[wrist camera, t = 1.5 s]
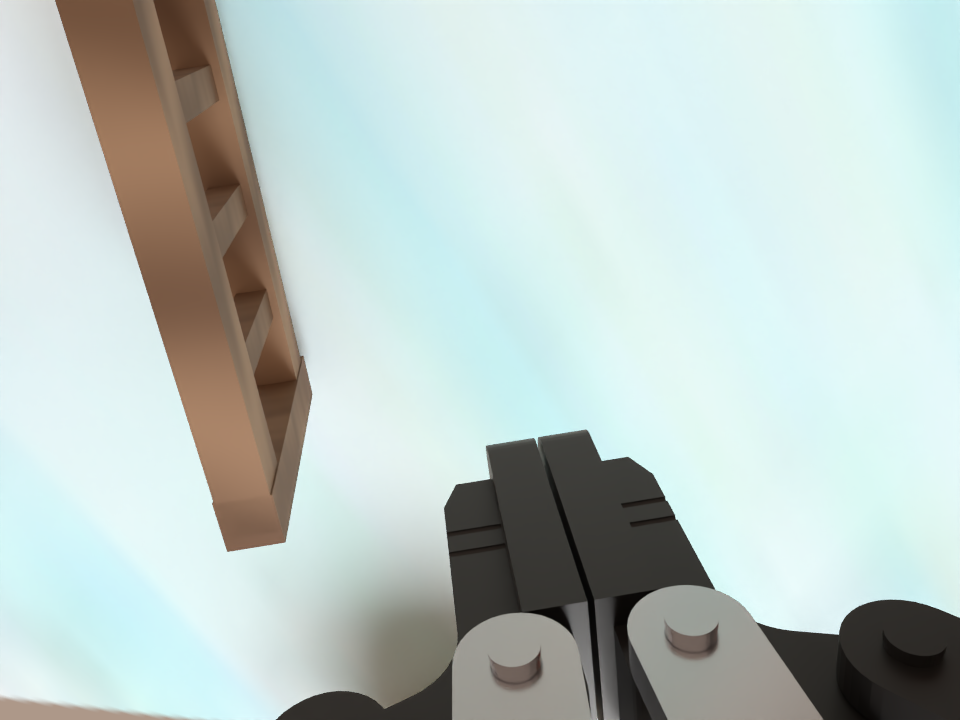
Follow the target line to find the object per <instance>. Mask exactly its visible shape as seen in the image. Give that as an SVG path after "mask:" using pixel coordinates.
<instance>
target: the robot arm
mask: <svg viewBox="0 0 960 720" xmlns="http://www.w3.org/2000/svg"><path fill="white" fill-rule="evenodd" d="M486 452H487V460H488V468H489V475H490V479H489V480H483V481H476V482H470V483H464V484H458V485H456V486H455V488H454V490H453V492H452V494H451V496H450V498H449V499H448V501H447V503H446V505H445V507H444V512H445V521H446V530H447V539H448V549H449V556H450V567H451V576H452V586H453V595H454V604H455V613H456V622H457V632H458V643H457V648H456V650H455V653H454V656H453V659H452V661H451V663H450V664H449V666H448V668H447V669H446V670H445V671H444V672H443V674H442V675H441V676H440V677H439V678H438V679H437V680H436V681H435V682H434V683H432V684H431V685H430V686H428V687H427V688H426V689H424V690H423V691H421V692H419V693H417V694H416V695H414V696H412V697H410V698H408V699H406V700H403V701H401V702H399V703H397V704H395V705H393V706H391V707H388V708H386V709H383V707H382V706H381V705H379V704H378V703H377V702H376V701H375V700H373V699H371V698H369V697H368V696H365V695H362V694H359V693H355V692H349V691H335V692H327V693H323V694H319V695H315V696H313V697H310V698H308V699H305V700H303V701H301V702H299V703H298V704H296V705H294V706H292V707H291V708H290V709H288V710H287V711H285V712H284V713H283V714H282V715H281V716H279V717H278V718H277V719H276V720H597V718H598V720H960V618H958V617H956V616H954V615H951V614H949V613H946V612H944V611H942V610H939V609H936V608H934V607H931V606H928V605H924V604H920V603H916V602H911V601H904V600H880V601H874V602H870V603H866V604H864V605H861V606H859V607H857V608H856V609H854V610H852V611H851V612H850V613H849V614H848V615H847V616H846V617H845V619H844V620H843V622H842V624H841V627H840V631H839V635H835V634H823V633H811V632H799V631H789V630H782V629H777V628H773V627H769V626H765V625H763V624H760V623H757V622H755V620H754V619H753V617H752V616H751V614H750V613H749V612H748V611H747V610H746V608H745V607H744V606H742V605H741V604H740V603H739V602H738V601H736V600H735V599H733V598H732V597H730V596H728V595H726V594H724V593H722V592H720V591H717V590H715V588H714V586H713V584H712V583H711V581H710V579H709V577H708V575H707V573H706V572H705V570H704V568H703V566H702V564H701V562H700V560H699V559H698V557H697V555H696V553H695V551H694V549H693V548H692V546H691V544H690V542H689V540H688V538H687V536H686V535H685V533H684V531H683V529H682V527H681V525H680V524H679V522H678V520H676V519H675V514H674V512H673V511H672V509H671V507H670V505H669V503H668V501H666V500H665V496H664V494H663V492H662V490H661V488H660V487H659V485H658V483H657V481H656V479H655V477H654V475H653V474H652V473H651V472H649V471H648V470H646V469H645V468H643V467H642V466H641V465H639V464H638V463H636V462H635V461H633V460H632V459H631V458H629V457H624V458H618V459H612V460H606V461H601V458H600V456H599V454H598V452H597V450H596V447H595V445H594V443H593V441H592V438H591V436H590V434H589V432H588V431H587V430H581V431H574V432H568V433H562V434H556V435H549V436H543V437H538V447H537V444H536V441H535V439H534V438H532V439H525V440H519V441H513V442H506V443H500V444H494V445H488V446H486Z"/></svg>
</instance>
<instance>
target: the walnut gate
mask: <svg viewBox="0 0 960 720" xmlns="http://www.w3.org/2000/svg"><path fill="white" fill-rule="evenodd" d="M55 2H56V5H57V8H58V11H59V14H60V17H61V21H62V24H63V27H64V30H65V33H66V36H67V40H68V43H69V46H70V49H71V52H72V55H73V59H74V62H75V65H76V68H77V71H78V74H79V78H80V81H81V84H82V87H83V90H84V93H85V97H86V100H87V103H88V106H89V109H90V112H91V116H92V119H93V122H94V125H95V128H96V131H97V135H98V138H99V141H100V144H101V147H102V150H103V154H104V157H105V160H106V163H107V166H108V169H109V173H110V176H111V179H112V182H113V185H114V188H115V192H116V195H117V198H118V201H119V204H120V207H121V211H122V214H123V217H124V220H125V223H126V226H127V229H128V233H129V236H130V239H131V242H132V245H133V248H134V252H135V255H136V258H137V261H138V264H139V267H140V271H141V274H142V277H143V280H144V283H145V286H146V290H147V293H148V296H149V299H150V302H151V305H152V309H153V312H154V315H155V318H156V321H157V324H158V328H159V331H160V334H161V337H162V340H163V343H164V347H165V350H166V353H167V356H168V359H169V362H170V366H171V369H172V372H173V375H174V378H175V381H176V385H177V388H178V391H179V394H180V397H181V400H182V404H183V407H184V410H185V413H186V416H187V419H188V423H189V426H190V429H191V432H192V435H193V438H194V442H195V445H196V448H197V451H198V454H199V457H200V461H201V464H202V467H203V470H204V473H205V476H206V480H207V483H208V486H209V489H210V492H211V495H212V499H213V503H212V505H213V508H214V511H215V514H216V517H217V521H218V524H219V527H220V530H221V533H222V536H223V539H224V543H225V546H226V549H227V552H229V551H235V550H241V549H247V548H254V547H260V546H266V545H272V544H278V543H285V541H286V536H287V530H288V525H289V519H290V514H291V508H292V503H293V498H294V492H295V487H296V481H297V476H298V470H299V465H300V459H301V454H302V448H303V443H304V437H305V432H306V426H307V421H308V415H309V410H310V405H311V399H312V390H311V386H310V382H309V378H308V374H307V369H306V365H305V361H304V357H303V356H300V355H299V351H298V346H297V342H296V338H295V334H294V330H293V325H292V321H291V317H290V313H289V309H288V305H287V300H286V296H285V292H284V288H283V284H282V279H281V275H280V271H279V267H278V263H277V258H276V254H275V250H274V246H273V242H272V238H271V233H270V229H269V225H268V221H267V217H266V212H265V208H264V204H263V200H262V196H261V191H260V187H259V183H258V179H257V175H256V171H255V166H254V162H253V158H252V154H251V150H250V145H249V141H248V137H247V133H246V129H245V124H244V120H243V116H242V112H241V108H240V104H239V99H238V95H237V91H236V87H235V83H234V78H233V74H232V70H231V66H230V62H229V57H228V53H227V49H226V45H225V41H224V37H223V32H222V28H221V24H220V20H219V16H218V11H217V7H216V3H215V0H55Z"/></svg>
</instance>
